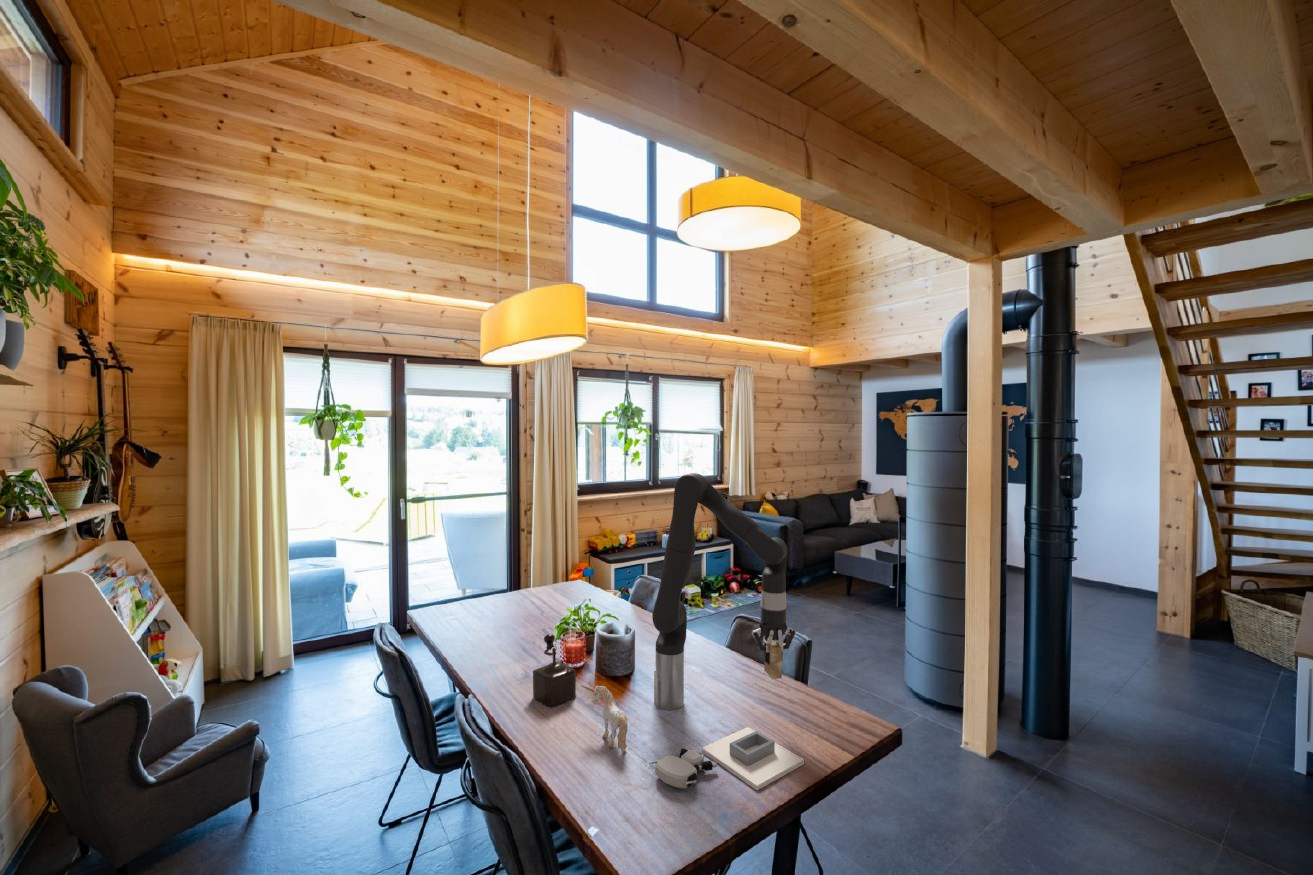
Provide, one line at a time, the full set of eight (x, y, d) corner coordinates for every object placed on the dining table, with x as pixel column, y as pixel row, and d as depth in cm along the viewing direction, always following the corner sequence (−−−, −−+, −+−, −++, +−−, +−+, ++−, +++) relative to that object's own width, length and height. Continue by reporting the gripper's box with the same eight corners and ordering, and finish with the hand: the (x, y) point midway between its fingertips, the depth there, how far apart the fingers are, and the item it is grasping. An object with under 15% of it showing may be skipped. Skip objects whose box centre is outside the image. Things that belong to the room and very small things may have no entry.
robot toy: (682, 757, 147) (645, 779, 135) (683, 740, 147) (646, 760, 136) (720, 776, 139) (684, 801, 127) (721, 757, 139) (685, 781, 128)
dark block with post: (578, 697, 178) (578, 642, 178) (550, 709, 170) (550, 652, 170) (550, 682, 189) (551, 631, 189) (523, 693, 181) (523, 639, 181)
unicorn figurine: (599, 721, 163) (599, 677, 163) (642, 749, 149) (642, 700, 149) (580, 730, 158) (580, 685, 158) (622, 759, 144) (622, 709, 144)
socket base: (757, 790, 131) (757, 773, 131) (702, 752, 147) (702, 736, 147) (803, 763, 142) (803, 748, 142) (748, 730, 158) (748, 716, 158)
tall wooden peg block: (772, 678, 158) (772, 648, 158) (764, 670, 164) (764, 640, 164) (781, 678, 159) (781, 647, 159) (773, 669, 165) (773, 640, 165)
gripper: (755, 610, 157) (755, 669, 157) (800, 608, 159) (800, 666, 159) (746, 602, 164) (746, 659, 164) (790, 600, 167) (789, 656, 167)
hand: (773, 662), depth 162 cm, fingers closed on tall wooden peg block, 3 cm apart
